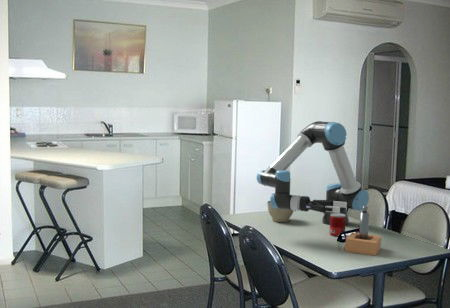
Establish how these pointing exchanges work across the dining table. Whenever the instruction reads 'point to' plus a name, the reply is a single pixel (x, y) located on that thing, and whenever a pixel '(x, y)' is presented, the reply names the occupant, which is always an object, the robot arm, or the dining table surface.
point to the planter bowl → (279, 213)
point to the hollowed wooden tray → (363, 244)
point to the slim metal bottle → (364, 224)
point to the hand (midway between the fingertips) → (343, 207)
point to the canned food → (337, 223)
